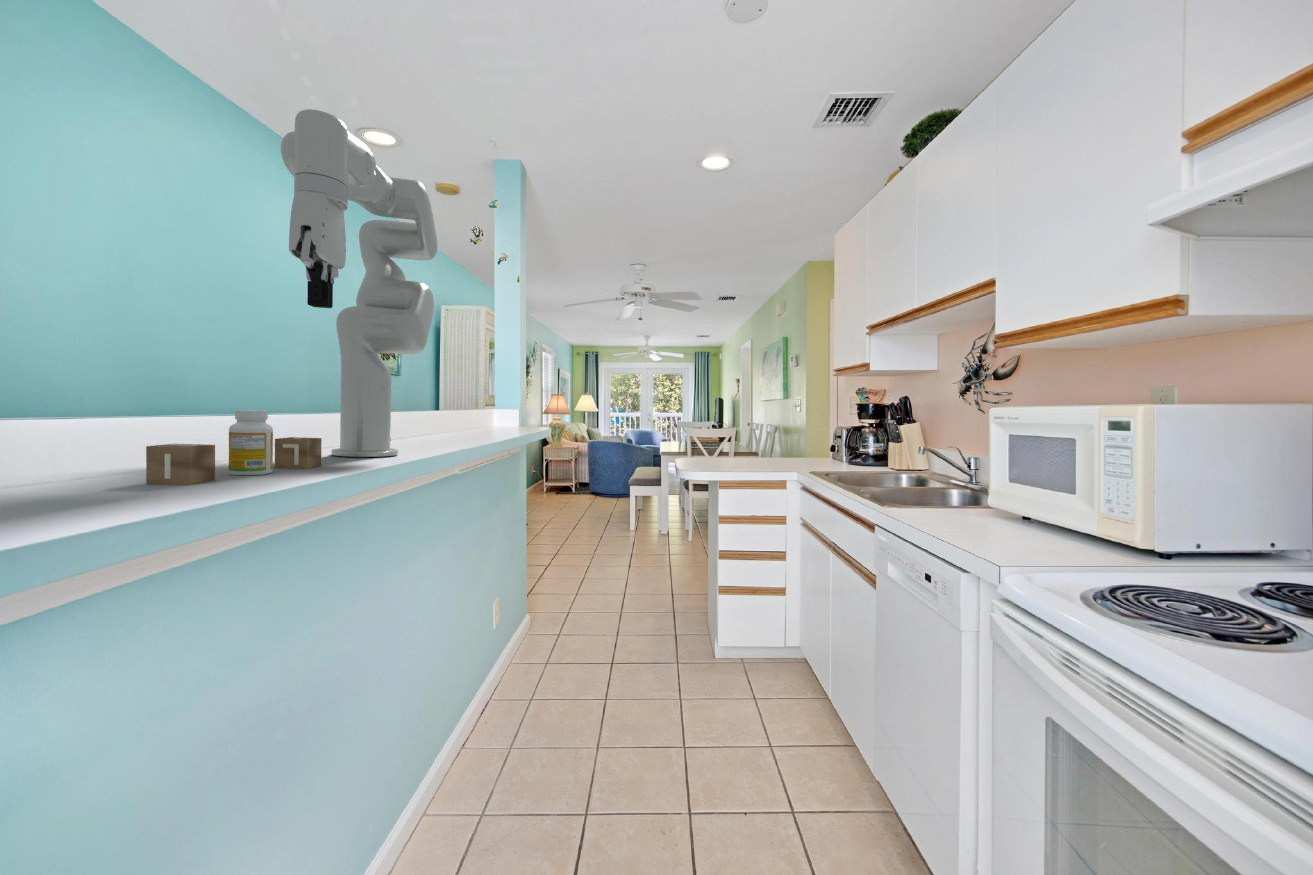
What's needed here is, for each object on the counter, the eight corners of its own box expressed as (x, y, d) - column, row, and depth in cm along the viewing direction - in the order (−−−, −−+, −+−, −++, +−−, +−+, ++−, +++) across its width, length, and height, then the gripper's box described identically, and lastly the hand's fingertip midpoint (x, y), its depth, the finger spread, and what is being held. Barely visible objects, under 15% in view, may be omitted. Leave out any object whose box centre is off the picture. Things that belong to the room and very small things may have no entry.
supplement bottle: (247, 471, 86) (248, 409, 85) (281, 472, 86) (281, 410, 85) (219, 474, 81) (219, 409, 80) (254, 476, 80) (255, 410, 80)
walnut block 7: (290, 465, 95) (290, 436, 95) (321, 466, 96) (321, 437, 96) (274, 468, 90) (274, 438, 90) (306, 469, 91) (306, 439, 91)
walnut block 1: (174, 479, 75) (174, 443, 75) (215, 480, 76) (215, 444, 75) (145, 485, 70) (145, 445, 70) (188, 486, 71) (188, 446, 70)
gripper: (318, 208, 97) (317, 313, 97) (271, 172, 82) (270, 296, 83) (363, 212, 98) (361, 315, 99) (325, 177, 83) (323, 299, 84)
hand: (320, 306), depth 91 cm, fingers closed
